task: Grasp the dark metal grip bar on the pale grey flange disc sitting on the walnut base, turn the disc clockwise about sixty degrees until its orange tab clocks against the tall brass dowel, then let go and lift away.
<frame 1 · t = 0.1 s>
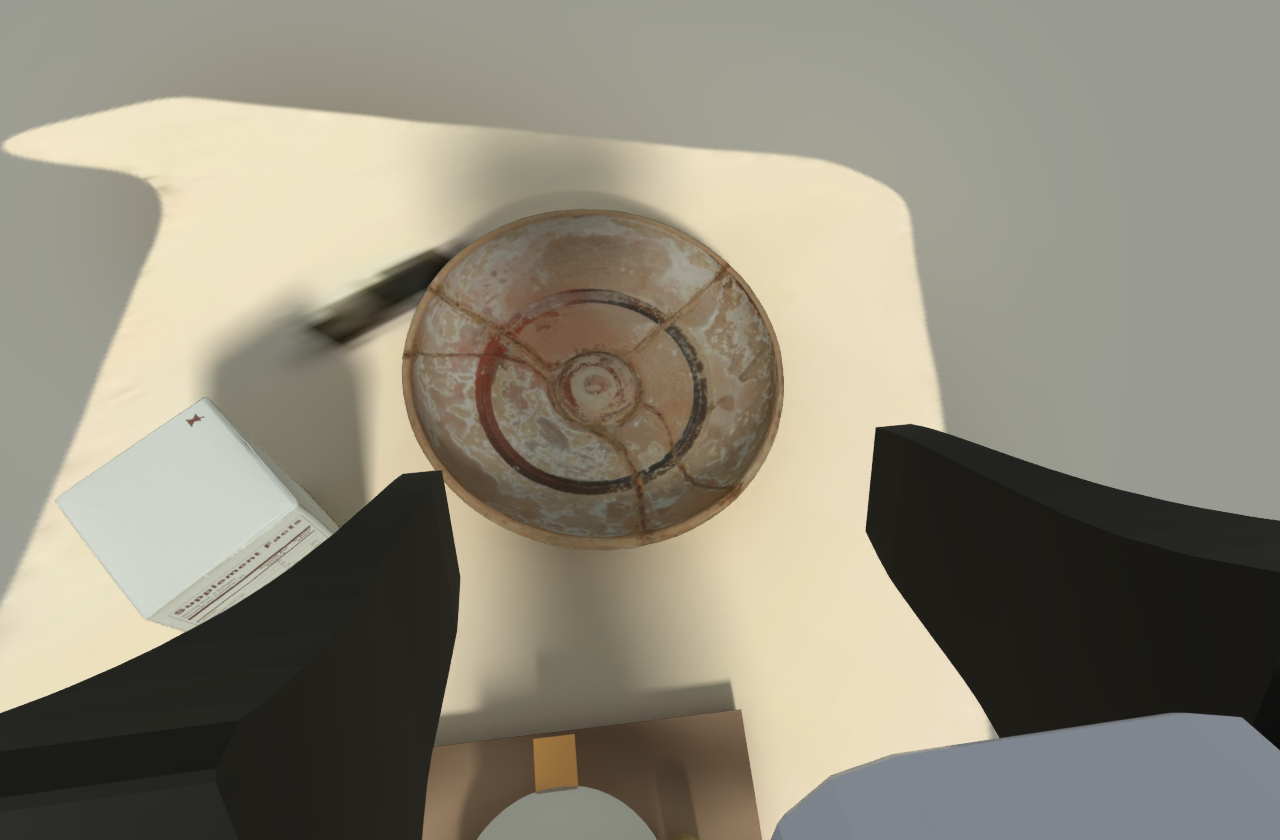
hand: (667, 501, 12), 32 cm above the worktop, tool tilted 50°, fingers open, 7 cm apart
supplement box: (285, 569, 42), on the worktop
ceramic bowl: (595, 395, 49), on the worktop
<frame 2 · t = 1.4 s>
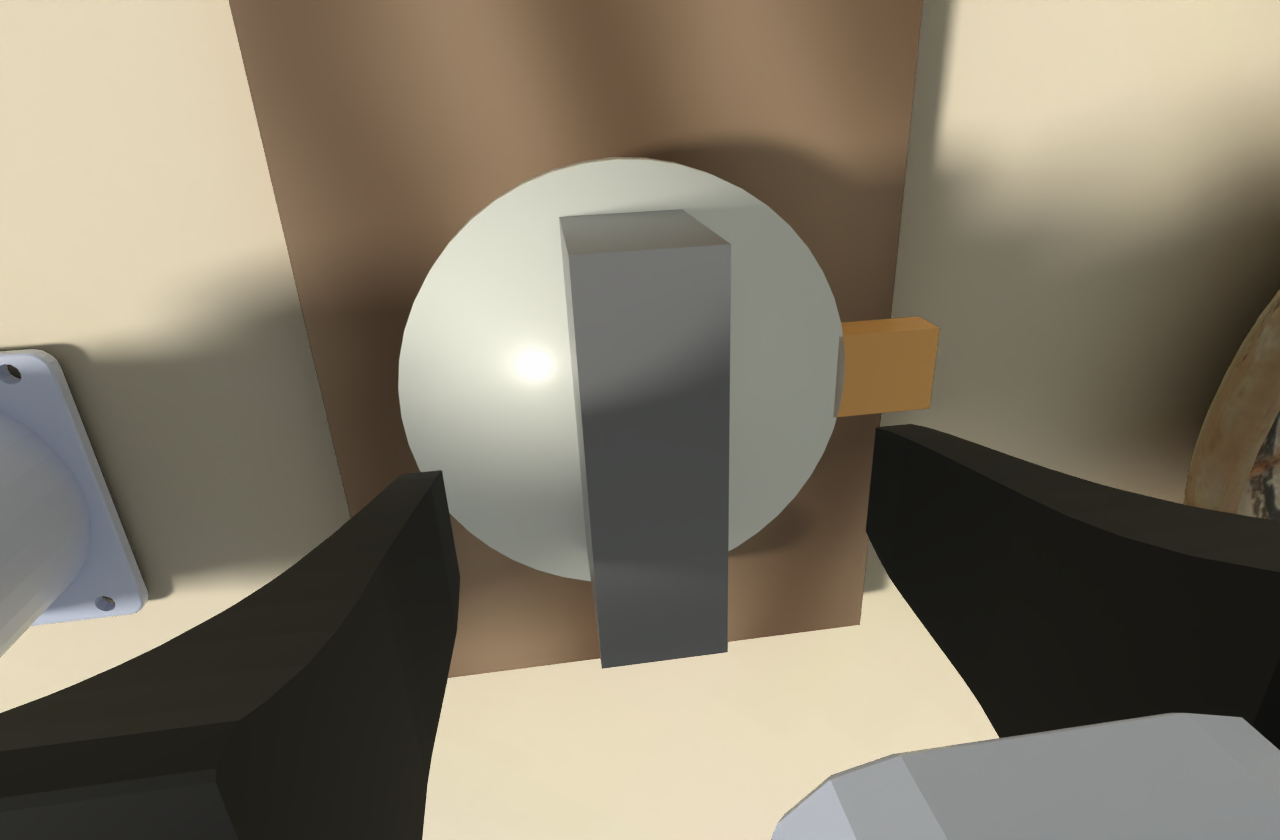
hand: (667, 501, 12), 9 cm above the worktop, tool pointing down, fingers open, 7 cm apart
walnut base: (610, 337, 20), on the worktop
flange disc: (692, 418, 15), point 6 cm above the worktop, hinge at 0.0°
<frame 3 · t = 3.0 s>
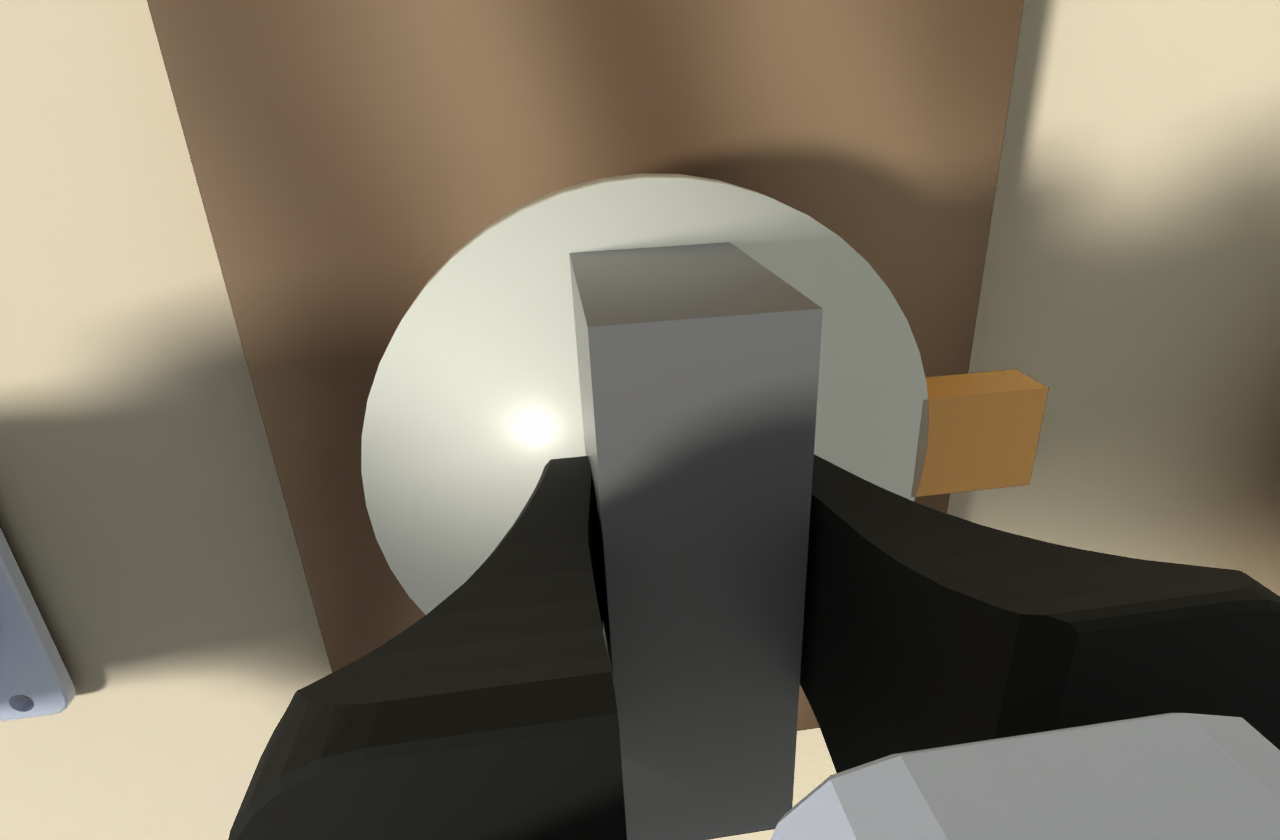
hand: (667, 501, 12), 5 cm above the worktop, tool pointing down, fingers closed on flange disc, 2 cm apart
walnut base: (627, 385, 17), on the worktop
flange disc: (741, 513, 12), point 6 cm above the worktop, hinge at 0.0°, touching gripper
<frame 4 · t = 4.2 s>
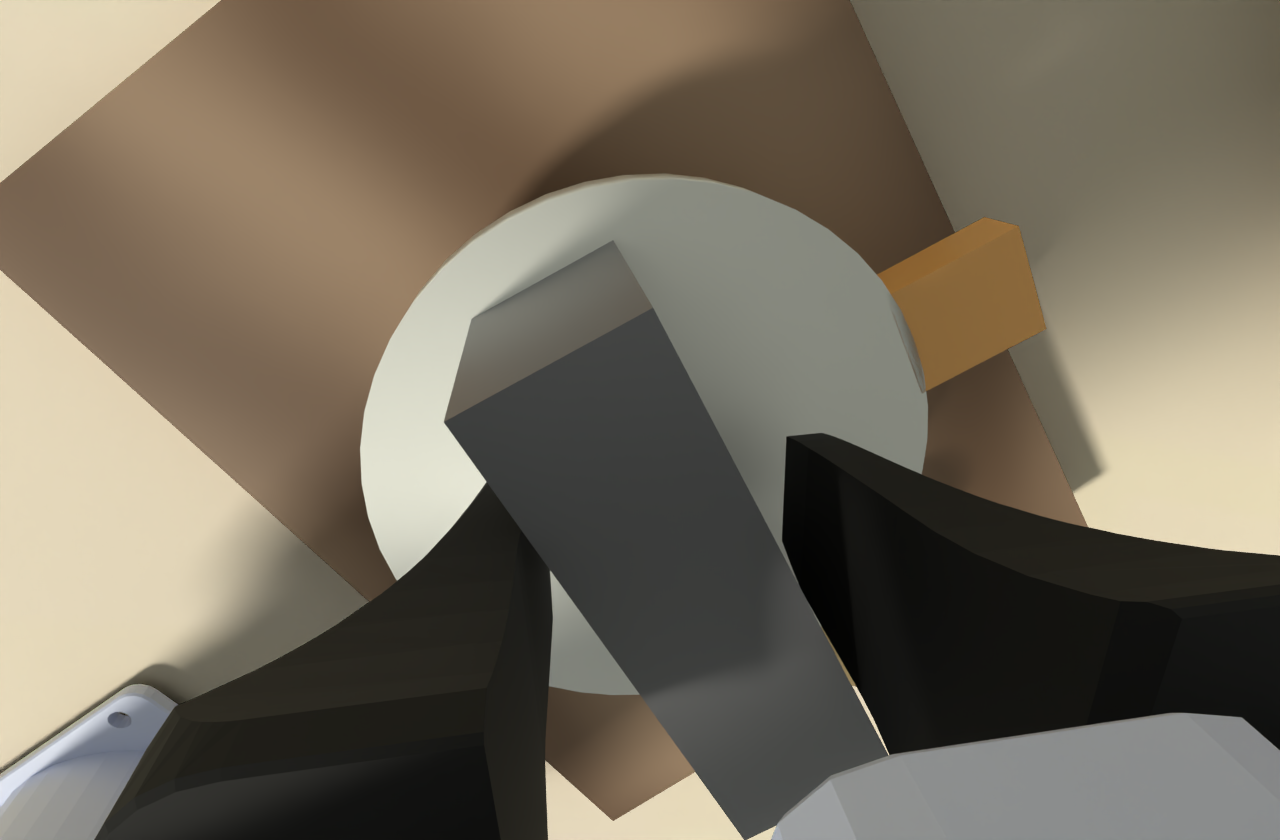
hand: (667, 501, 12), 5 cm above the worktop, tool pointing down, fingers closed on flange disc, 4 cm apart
walnut base: (627, 386, 17), on the worktop
flange disc: (734, 488, 11), point 6 cm above the worktop, hinge at -6.5°, touching gripper
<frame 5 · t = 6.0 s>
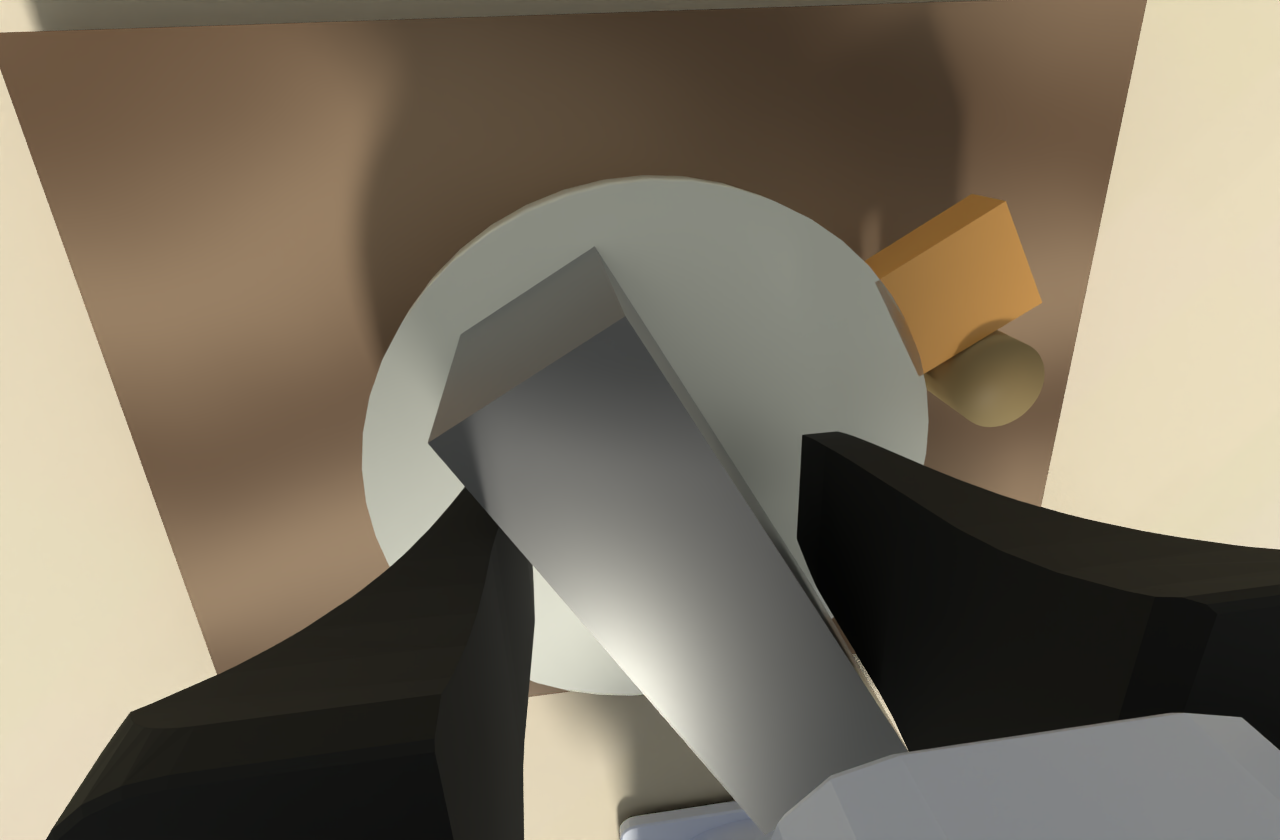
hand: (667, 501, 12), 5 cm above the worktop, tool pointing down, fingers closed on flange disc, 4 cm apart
walnut base: (627, 386, 17), on the worktop
flange disc: (733, 485, 11), point 6 cm above the worktop, hinge at -60.8°, touching gripper
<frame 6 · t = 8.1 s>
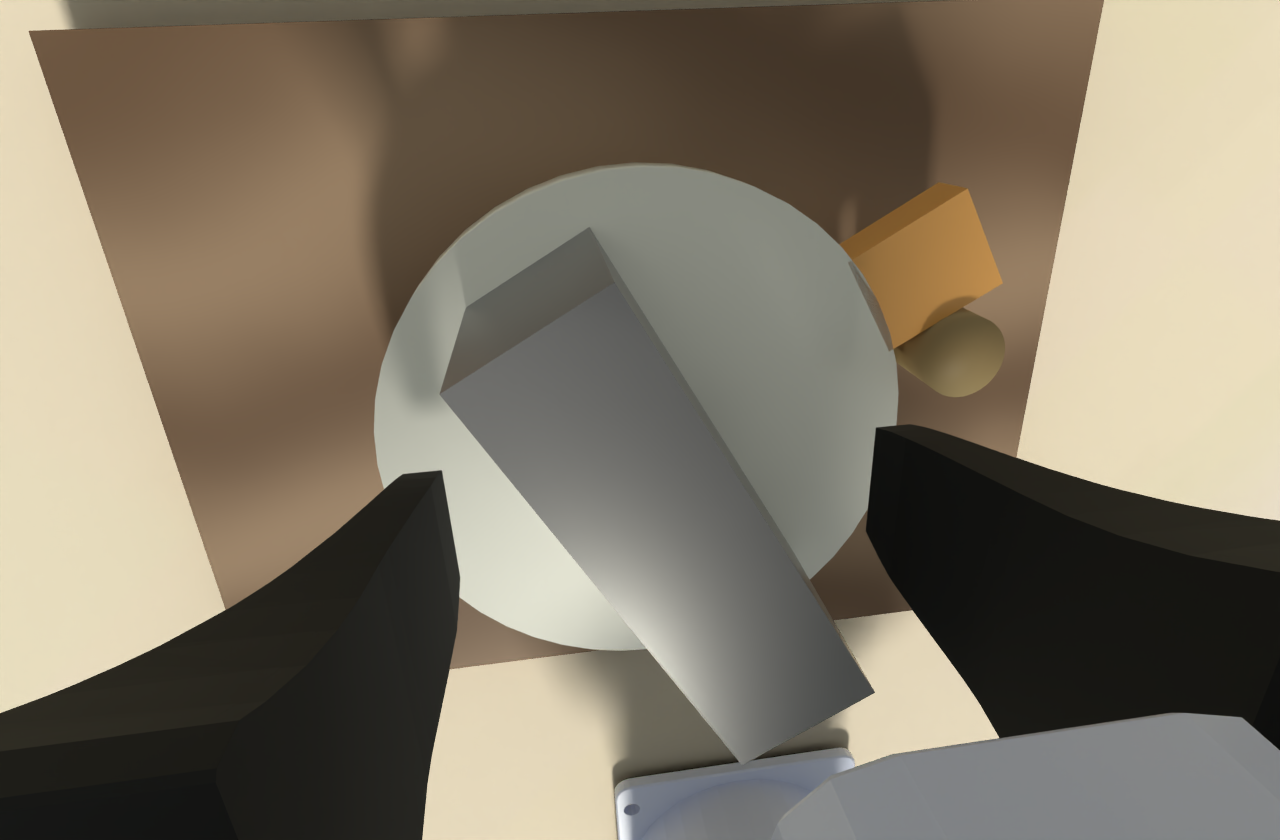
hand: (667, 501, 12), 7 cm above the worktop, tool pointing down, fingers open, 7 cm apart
walnut base: (621, 364, 18), on the worktop
flange disc: (715, 447, 12), point 6 cm above the worktop, hinge at -61.2°, touching walnut base
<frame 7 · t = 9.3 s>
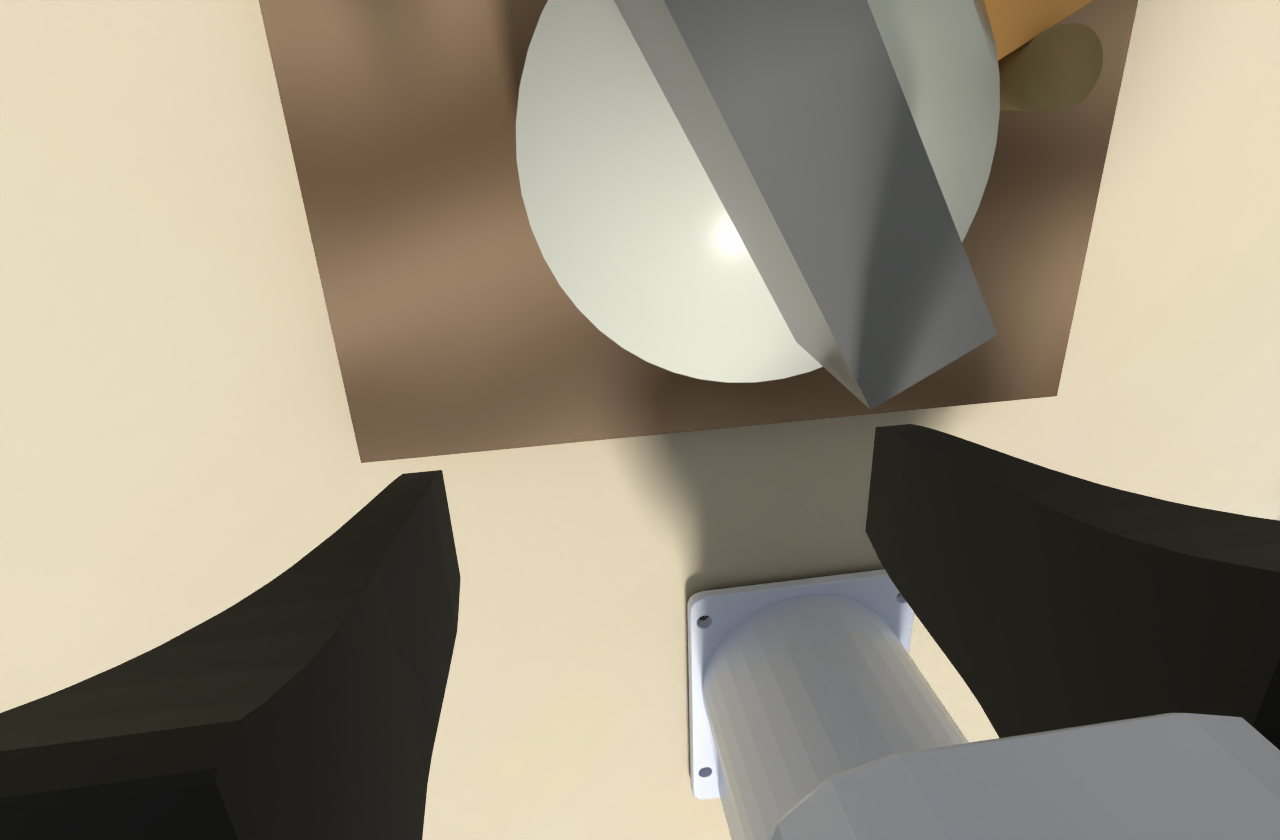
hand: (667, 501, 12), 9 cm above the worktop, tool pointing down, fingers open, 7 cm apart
walnut base: (714, 140, 19), on the worktop
flange disc: (841, 123, 13), point 6 cm above the worktop, hinge at -61.2°, touching walnut base
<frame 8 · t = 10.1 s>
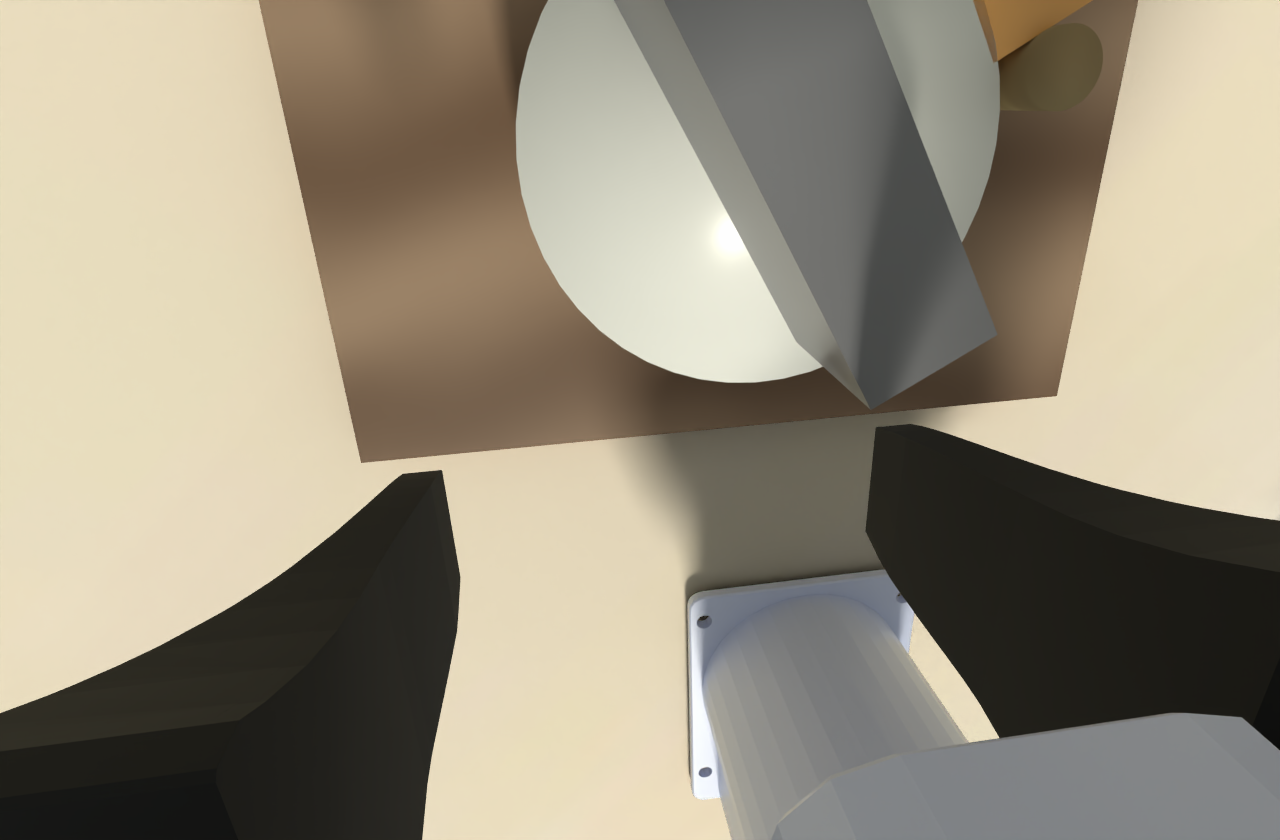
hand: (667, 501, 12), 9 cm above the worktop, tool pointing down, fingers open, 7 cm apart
walnut base: (714, 140, 19), on the worktop
flange disc: (841, 123, 13), point 6 cm above the worktop, hinge at -61.2°, touching walnut base
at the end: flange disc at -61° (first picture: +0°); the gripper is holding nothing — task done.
